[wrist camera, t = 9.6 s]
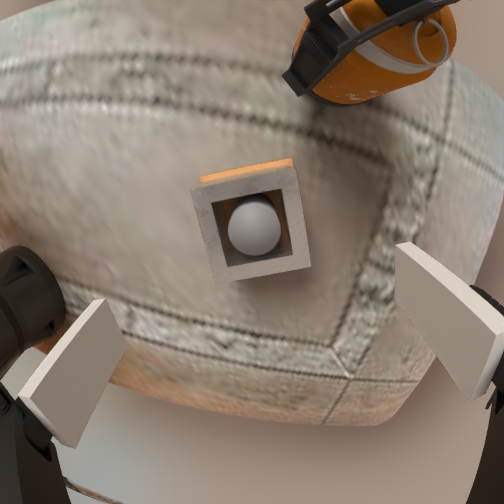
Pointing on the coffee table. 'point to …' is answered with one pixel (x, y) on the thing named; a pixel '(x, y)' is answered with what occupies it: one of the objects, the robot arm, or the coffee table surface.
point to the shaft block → (253, 214)
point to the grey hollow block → (216, 225)
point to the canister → (369, 47)
